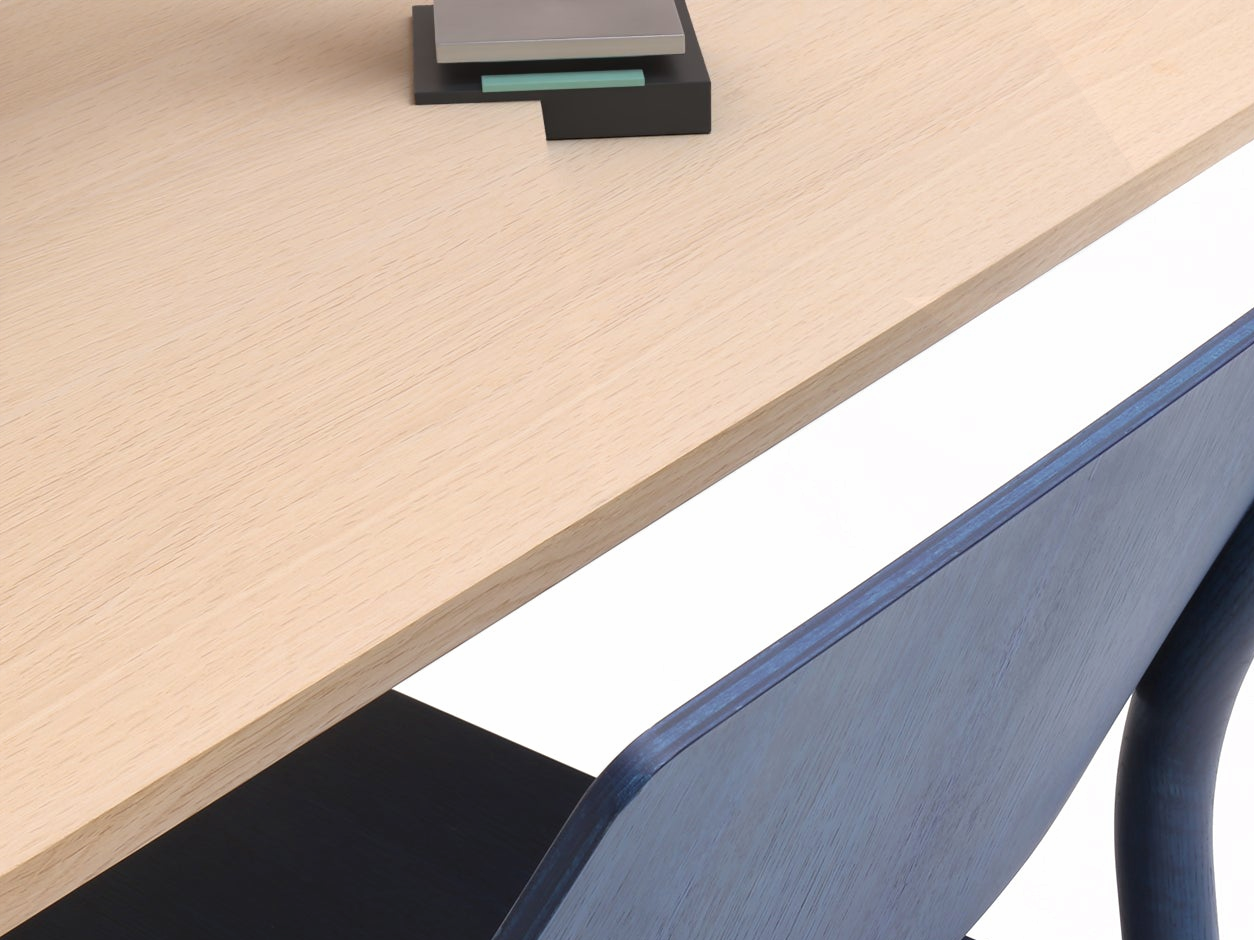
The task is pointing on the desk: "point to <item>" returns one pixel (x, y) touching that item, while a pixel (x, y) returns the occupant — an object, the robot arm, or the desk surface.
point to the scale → (577, 86)
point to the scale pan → (554, 29)
